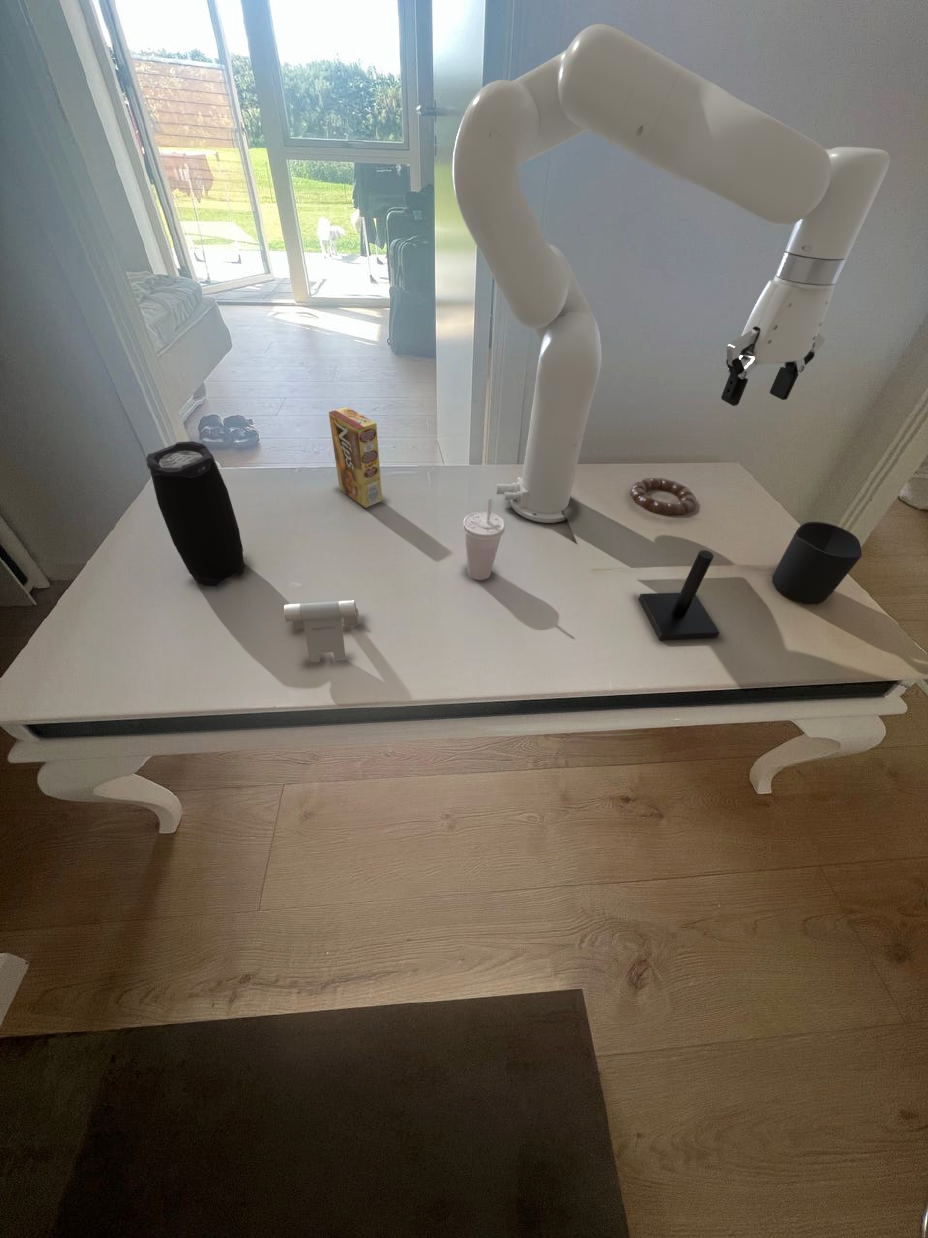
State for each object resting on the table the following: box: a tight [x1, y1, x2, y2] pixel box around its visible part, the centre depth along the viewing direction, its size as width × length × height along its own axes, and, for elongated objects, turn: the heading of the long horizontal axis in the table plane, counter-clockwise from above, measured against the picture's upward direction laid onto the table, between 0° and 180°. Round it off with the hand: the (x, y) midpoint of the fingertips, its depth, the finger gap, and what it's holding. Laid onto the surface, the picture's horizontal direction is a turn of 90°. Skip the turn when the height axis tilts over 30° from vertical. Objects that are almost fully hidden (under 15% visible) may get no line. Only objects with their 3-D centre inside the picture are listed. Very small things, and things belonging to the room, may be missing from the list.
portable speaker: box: [146, 440, 246, 587], centre depth 75 cm, size 9×9×20 cm
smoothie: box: [462, 496, 506, 581], centre depth 80 cm, size 6×6×14 cm
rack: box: [638, 549, 720, 641], centre depth 76 cm, size 9×9×12 cm
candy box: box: [328, 406, 383, 509], centre depth 94 cm, size 9×4×15 cm, turn 44°
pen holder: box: [771, 521, 863, 605], centre depth 83 cm, size 9×9×10 cm
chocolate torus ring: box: [629, 477, 697, 517], centre depth 103 cm, size 12×12×3 cm
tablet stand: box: [283, 599, 360, 663], centre depth 70 cm, size 9×8×8 cm
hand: (753, 399), depth 82 cm, fingers open, 9 cm apart
